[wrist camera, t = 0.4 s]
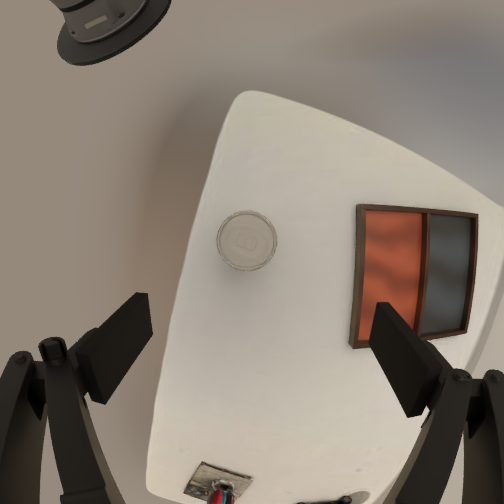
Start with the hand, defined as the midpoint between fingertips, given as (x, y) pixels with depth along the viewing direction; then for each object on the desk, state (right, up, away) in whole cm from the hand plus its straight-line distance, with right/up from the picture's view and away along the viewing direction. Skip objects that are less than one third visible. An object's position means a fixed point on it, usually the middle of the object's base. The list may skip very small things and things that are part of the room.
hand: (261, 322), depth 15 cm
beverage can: (-1, +6, +19) cm, 20 cm away
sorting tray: (+22, +1, +19) cm, 29 cm away
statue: (-7, -38, +23) cm, 45 cm away
